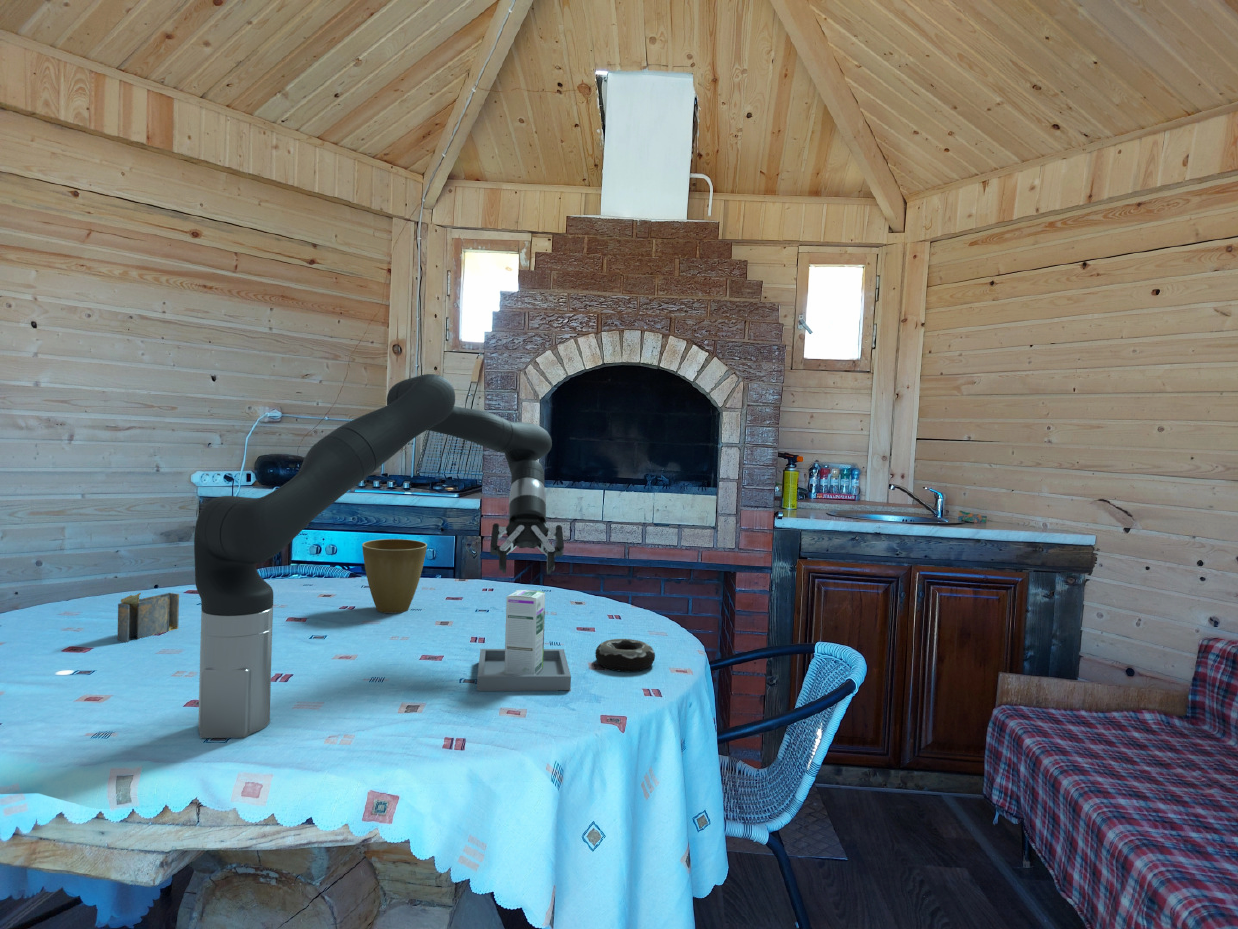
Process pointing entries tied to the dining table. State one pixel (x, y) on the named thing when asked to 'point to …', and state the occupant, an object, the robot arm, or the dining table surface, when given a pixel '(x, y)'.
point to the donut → (625, 654)
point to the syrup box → (524, 632)
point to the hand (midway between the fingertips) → (526, 571)
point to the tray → (546, 679)
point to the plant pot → (393, 572)
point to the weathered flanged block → (147, 615)
